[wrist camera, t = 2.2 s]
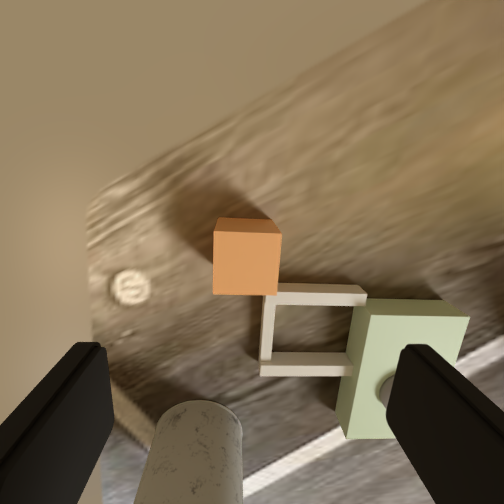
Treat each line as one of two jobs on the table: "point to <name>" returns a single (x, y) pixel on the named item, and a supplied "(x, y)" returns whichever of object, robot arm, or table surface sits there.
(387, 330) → the green plate with dome
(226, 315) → the table surface
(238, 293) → the matte orange cube
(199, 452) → the speckled stone cylinder
